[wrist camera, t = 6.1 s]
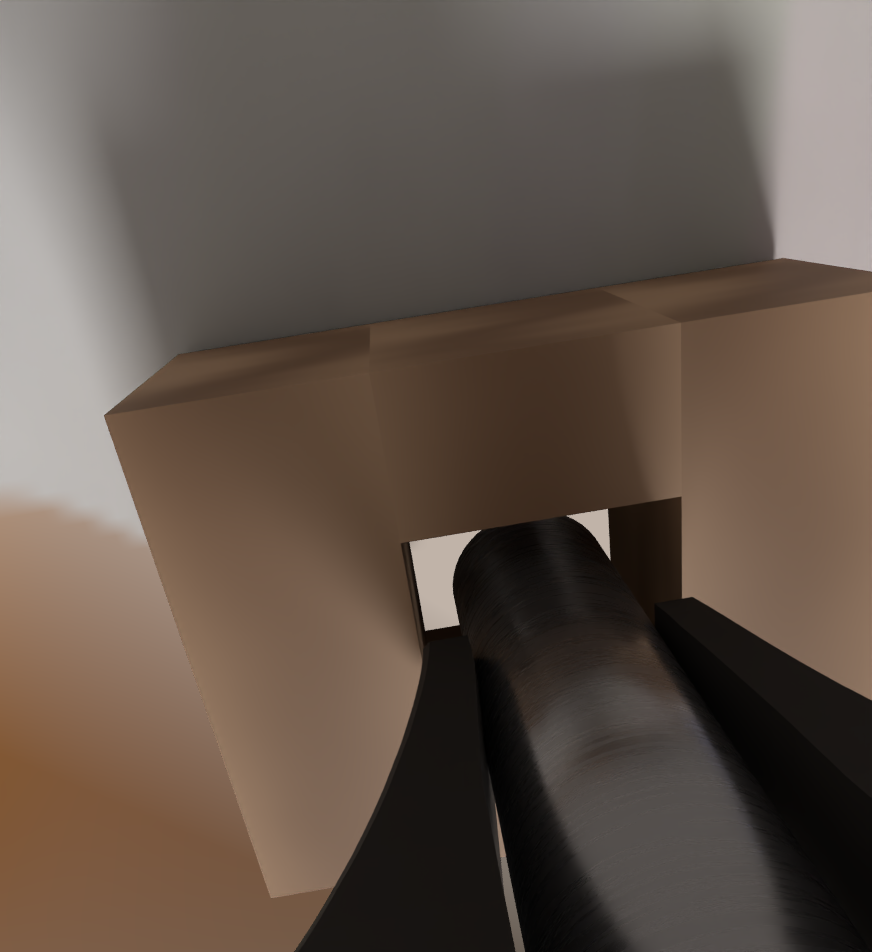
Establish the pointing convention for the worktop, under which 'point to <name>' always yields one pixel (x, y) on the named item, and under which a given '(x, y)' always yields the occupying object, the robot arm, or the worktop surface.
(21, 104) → the worktop surface
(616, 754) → the peg
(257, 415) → the hole block
